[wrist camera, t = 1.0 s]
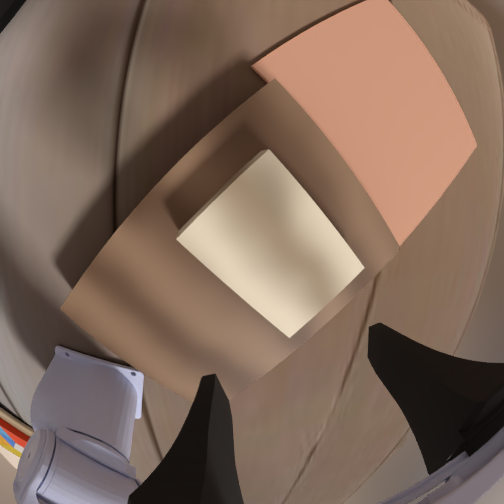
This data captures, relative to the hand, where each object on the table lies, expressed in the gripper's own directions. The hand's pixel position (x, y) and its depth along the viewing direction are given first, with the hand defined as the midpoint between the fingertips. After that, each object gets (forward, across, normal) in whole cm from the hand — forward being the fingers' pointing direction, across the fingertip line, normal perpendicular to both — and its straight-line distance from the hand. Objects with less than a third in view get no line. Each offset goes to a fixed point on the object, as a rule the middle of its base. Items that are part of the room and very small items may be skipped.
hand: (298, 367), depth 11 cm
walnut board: (+11, +2, -1) cm, 11 cm away
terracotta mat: (+12, -16, -11) cm, 23 cm away
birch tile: (+8, -1, -3) cm, 9 cm away
